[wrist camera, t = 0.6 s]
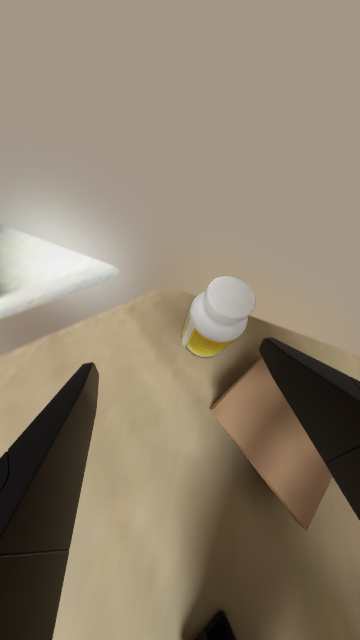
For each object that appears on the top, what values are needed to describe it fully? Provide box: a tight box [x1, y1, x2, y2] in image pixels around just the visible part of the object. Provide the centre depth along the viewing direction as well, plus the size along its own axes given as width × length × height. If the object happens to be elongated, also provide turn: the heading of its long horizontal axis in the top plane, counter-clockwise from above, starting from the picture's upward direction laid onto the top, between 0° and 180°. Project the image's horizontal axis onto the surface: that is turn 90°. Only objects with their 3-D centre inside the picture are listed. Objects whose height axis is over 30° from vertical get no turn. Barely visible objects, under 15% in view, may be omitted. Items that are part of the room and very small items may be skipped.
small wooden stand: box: [210, 356, 333, 531], centre depth 20 cm, size 12×12×4 cm
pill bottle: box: [182, 276, 256, 358], centre depth 20 cm, size 6×6×12 cm
